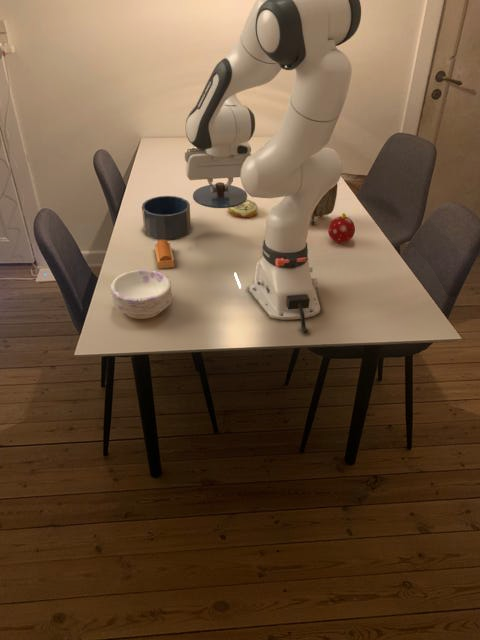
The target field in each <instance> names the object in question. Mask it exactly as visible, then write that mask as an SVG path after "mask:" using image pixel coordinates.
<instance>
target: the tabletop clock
mask: <svg viewBox="0 0 480 640" xmlns="http://www.w3.org/2000/svg"><path fill="white" fill-rule="evenodd" d="M337 196H338V183H337V184H336V185H335V186H334V187H333V188H331V189H330V190H329V191H328V192H327V193H326V194H325V195H324V196H323V197H322V199H321V200H320V201H319V203H318V204H317V206H316V208H315V210H314V212H313V214H312V216H311V220H310V224H311V226H315V225H316V221H315V218H318V217H319V218H320V219H321V218H323V217H324V216H328V215H331V214H332V213H333V211H334V209H335V206H336V201H337Z"/></svg>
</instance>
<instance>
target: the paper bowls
mask: <svg viewBox="0 0 480 640" xmlns="http://www.w3.org/2000/svg"><path fill="white" fill-rule="evenodd" d="M110 292H111V293H110V295H111V301H112V304H113V306H114V308H115V309H116V310H118V311H119V312H120V313H123V314H125V315H127V316H128V317H130V318H132V319H137V320H145V319H151V318H153V317H155V316H157V315H158V314H160V313H161V312H162V311H165V310H166V309H167V308H168V307H169V306H170V304H171V303H172V299H173V297H172V296H173V295H172V283H171V280H170V279H169V277H168V276H167V275H166V274H164V273H163V272H160V271H157V270H152V269H135V270H129V271H126V272H124V273H121V274H119V275H117V276H116V277H115V278H114V279H113V281H112V282H111V284H110Z"/></svg>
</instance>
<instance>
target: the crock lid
mask: <svg viewBox="0 0 480 640" xmlns="http://www.w3.org/2000/svg"><path fill="white" fill-rule="evenodd" d="M224 184H225V183H224V182H221V181H220V182H216V183H214V184H213V185H216V187H217V189H216V190H217V192H213V193H212V192H211V186H210V184H207V185H203V186H201V187H199V188H197V189H195V190H194V191H193V193H192V199H193V201H194V202H195V203H196V204H198V205H200V206H203V207H206V208H210V209H212V208H213V209H228V208H231V207H235V206H239V205H241V204H243V203H244V202H245V201H246V200H248V193H247V192H246V191H245V189H244V188H241V187H239V186H237V185H232V184H231V185H230V186H229V191H227V192H225V191H224Z"/></svg>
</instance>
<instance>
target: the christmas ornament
mask: <svg viewBox="0 0 480 640" xmlns="http://www.w3.org/2000/svg"><path fill="white" fill-rule="evenodd" d="M327 229H328V231H327V232H328V236H329V237H330V239H331V240H332V241H334V242H335V243H338V244H343V243H347V242H349V241H350V240H352V238H353V237H354V235H355V233H356V226H355V223H354V221H353V220H352V219H351V218H350V217H348V216H347V214H346V213H345V212H344V213H342V215H340V216H337V217H335V218H333V219H332V220H331V222H330V223H329V224H328V227H327Z"/></svg>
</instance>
